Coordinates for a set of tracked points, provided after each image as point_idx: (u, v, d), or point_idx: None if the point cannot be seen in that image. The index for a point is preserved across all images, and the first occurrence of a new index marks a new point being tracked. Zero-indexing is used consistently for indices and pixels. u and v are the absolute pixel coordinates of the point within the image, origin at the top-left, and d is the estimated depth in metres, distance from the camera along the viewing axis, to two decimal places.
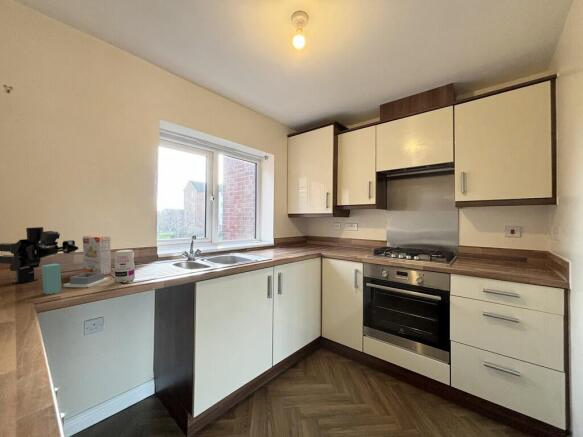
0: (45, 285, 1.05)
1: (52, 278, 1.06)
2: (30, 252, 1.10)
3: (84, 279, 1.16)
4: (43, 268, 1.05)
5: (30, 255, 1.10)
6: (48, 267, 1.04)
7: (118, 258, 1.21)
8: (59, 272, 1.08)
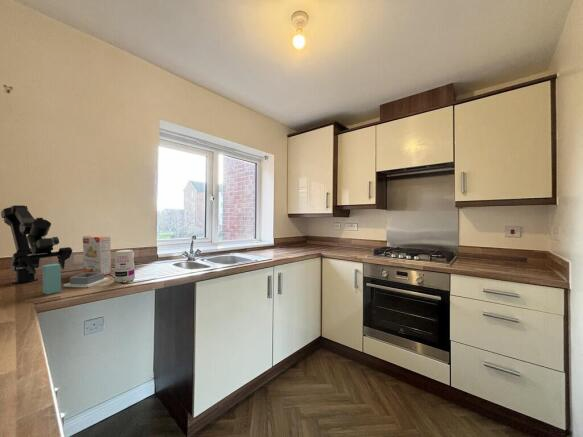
0: (45, 285, 1.05)
1: (52, 278, 1.06)
2: (13, 259, 1.02)
3: (84, 279, 1.16)
4: (43, 268, 1.05)
5: (12, 261, 1.03)
6: (48, 267, 1.04)
7: (118, 258, 1.21)
8: (59, 272, 1.08)
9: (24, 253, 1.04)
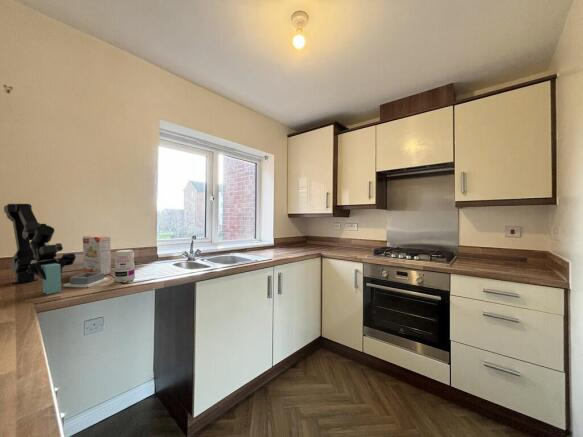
0: (45, 285, 1.05)
1: (52, 278, 1.06)
2: (16, 267, 1.01)
3: (84, 279, 1.16)
4: (43, 268, 1.05)
5: (15, 269, 1.01)
6: (48, 267, 1.04)
7: (118, 258, 1.21)
8: (59, 272, 1.08)
9: (27, 260, 1.02)
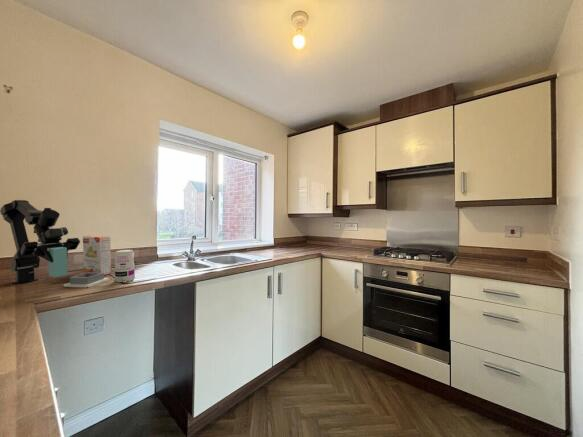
0: (52, 267, 1.07)
1: (59, 260, 1.08)
2: (22, 249, 1.02)
3: (84, 279, 1.16)
4: (49, 251, 1.07)
5: (21, 251, 1.02)
6: (55, 250, 1.06)
7: (118, 258, 1.21)
8: (65, 255, 1.09)
9: (34, 243, 1.04)
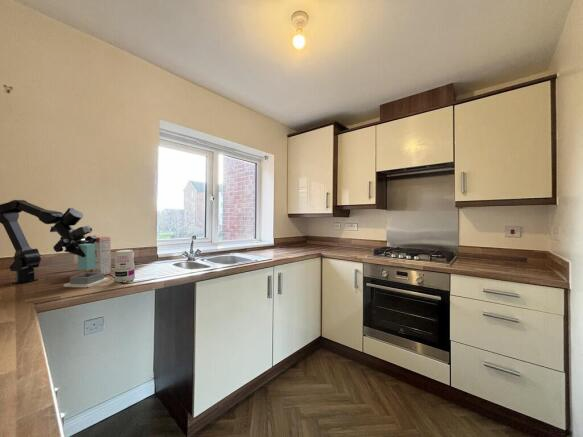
0: (83, 262, 1.18)
1: (90, 255, 1.20)
2: (58, 246, 1.11)
3: (84, 279, 1.16)
4: (80, 247, 1.18)
5: (56, 248, 1.11)
6: (87, 245, 1.18)
7: (118, 258, 1.21)
8: (94, 250, 1.22)
9: (68, 240, 1.14)
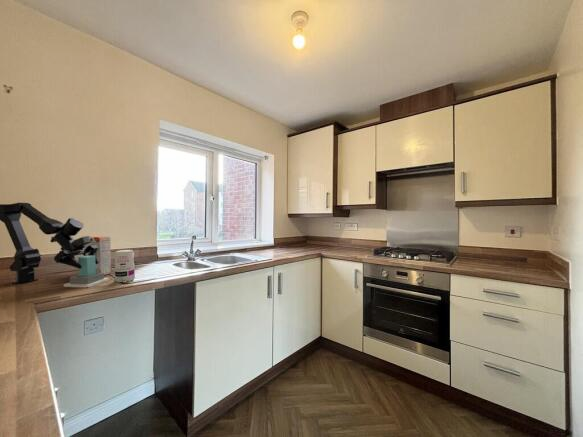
0: (84, 274, 1.18)
1: (91, 267, 1.20)
2: (58, 257, 1.11)
3: (84, 279, 1.16)
4: (81, 259, 1.18)
5: (56, 259, 1.11)
6: (88, 258, 1.19)
7: (118, 258, 1.21)
8: (94, 262, 1.22)
9: (68, 250, 1.14)
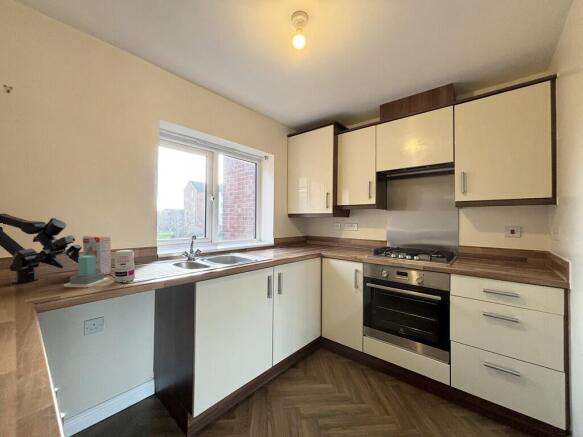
0: (84, 274, 1.18)
1: (91, 267, 1.20)
2: (39, 256, 1.12)
3: (84, 279, 1.16)
4: (81, 259, 1.18)
5: (37, 258, 1.12)
6: (88, 258, 1.19)
7: (118, 258, 1.21)
8: (94, 262, 1.22)
9: (50, 250, 1.15)
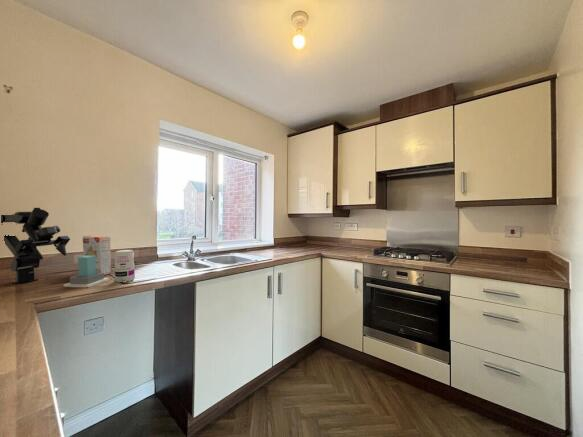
0: (84, 274, 1.18)
1: (91, 267, 1.20)
2: (18, 246, 1.08)
3: (84, 279, 1.16)
4: (81, 259, 1.18)
5: (17, 248, 1.08)
6: (88, 258, 1.19)
7: (118, 258, 1.21)
8: (94, 262, 1.22)
9: (30, 240, 1.10)
